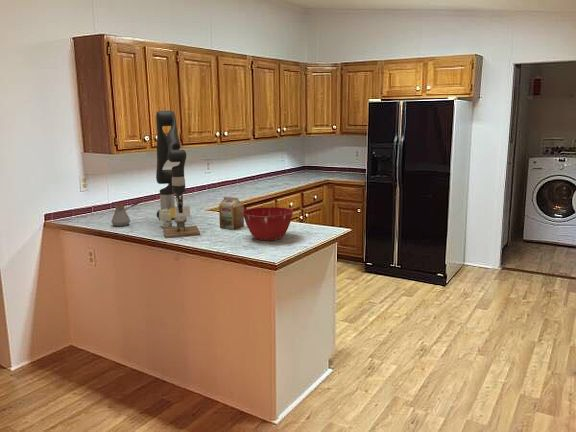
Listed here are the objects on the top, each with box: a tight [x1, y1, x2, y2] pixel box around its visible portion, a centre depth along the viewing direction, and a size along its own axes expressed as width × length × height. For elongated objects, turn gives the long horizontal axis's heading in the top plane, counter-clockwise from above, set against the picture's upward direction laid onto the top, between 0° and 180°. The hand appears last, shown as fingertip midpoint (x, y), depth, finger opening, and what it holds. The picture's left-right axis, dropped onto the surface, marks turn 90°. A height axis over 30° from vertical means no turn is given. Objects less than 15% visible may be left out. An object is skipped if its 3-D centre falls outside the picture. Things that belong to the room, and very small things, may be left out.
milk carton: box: [218, 196, 245, 231], centre depth 309 cm, size 11×11×19 cm
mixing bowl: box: [242, 206, 294, 242], centre depth 284 cm, size 28×28×16 cm
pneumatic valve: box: [156, 208, 175, 228], centre depth 314 cm, size 6×12×12 cm, turn 79°
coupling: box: [170, 205, 191, 224], centre depth 297 cm, size 7×11×9 cm, turn 106°
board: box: [162, 222, 201, 239], centre depth 298 cm, size 20×20×6 cm
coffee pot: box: [111, 199, 145, 228], centre depth 322 cm, size 21×12×15 cm, turn 120°
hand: (180, 211), depth 296 cm, fingers open, 8 cm apart
